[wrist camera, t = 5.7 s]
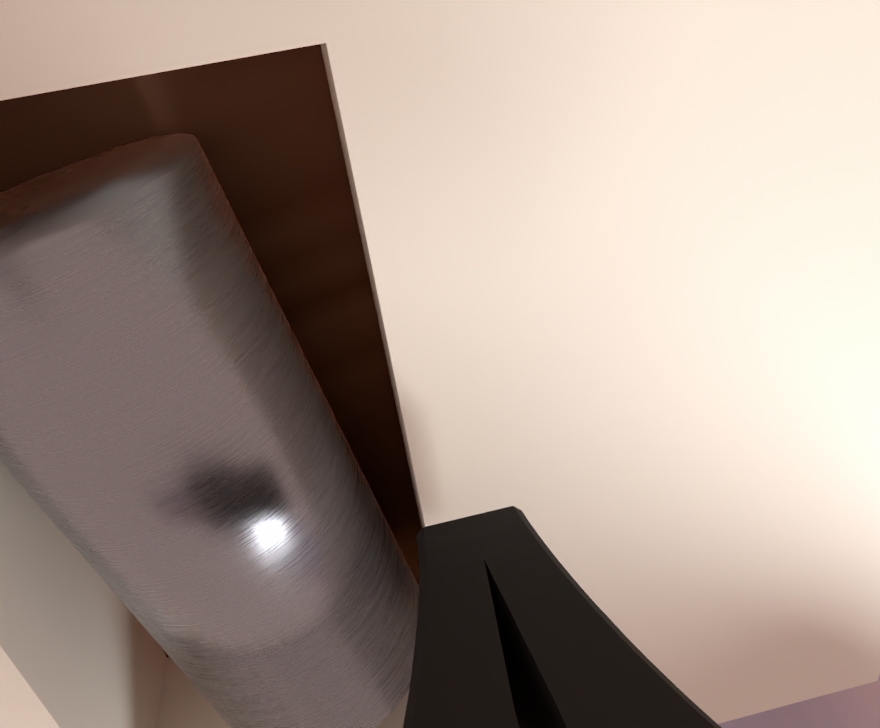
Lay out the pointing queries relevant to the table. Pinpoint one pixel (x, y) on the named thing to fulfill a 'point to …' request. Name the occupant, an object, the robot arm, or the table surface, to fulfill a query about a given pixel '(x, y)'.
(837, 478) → the slot board
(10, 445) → the roller
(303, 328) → the table surface
